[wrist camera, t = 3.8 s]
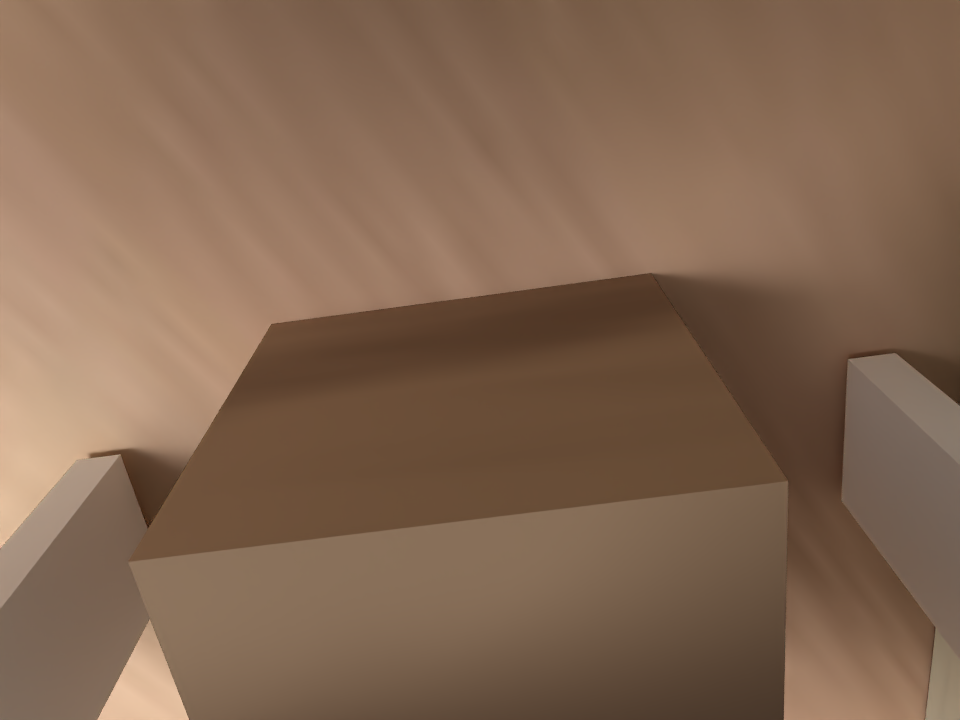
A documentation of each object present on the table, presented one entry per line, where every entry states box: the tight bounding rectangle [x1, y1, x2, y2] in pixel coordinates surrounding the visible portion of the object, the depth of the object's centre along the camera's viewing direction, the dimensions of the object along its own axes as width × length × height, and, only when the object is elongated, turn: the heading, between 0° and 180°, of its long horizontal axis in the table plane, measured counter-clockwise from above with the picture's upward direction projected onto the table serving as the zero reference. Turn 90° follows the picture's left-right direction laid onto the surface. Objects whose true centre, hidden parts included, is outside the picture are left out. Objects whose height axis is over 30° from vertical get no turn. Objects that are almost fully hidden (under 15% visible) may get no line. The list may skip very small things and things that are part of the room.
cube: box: [128, 273, 788, 720], centre depth 11 cm, size 6×6×6 cm
